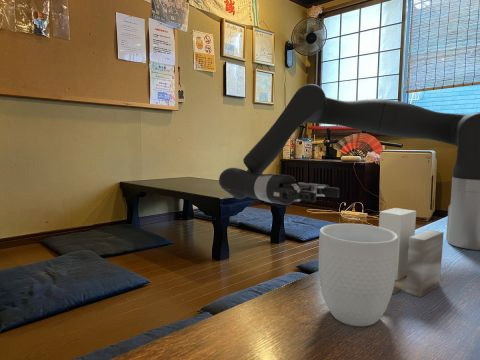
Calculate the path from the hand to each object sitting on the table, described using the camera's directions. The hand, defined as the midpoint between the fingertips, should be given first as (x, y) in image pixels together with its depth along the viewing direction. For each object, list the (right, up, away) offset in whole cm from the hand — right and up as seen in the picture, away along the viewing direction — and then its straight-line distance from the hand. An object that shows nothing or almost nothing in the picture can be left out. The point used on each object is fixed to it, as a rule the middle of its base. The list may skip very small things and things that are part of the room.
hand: (327, 195), depth 77 cm
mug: (-1, -17, -24) cm, 30 cm away
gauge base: (+9, -16, -11) cm, 21 cm away
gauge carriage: (+9, -14, -12) cm, 21 cm away
